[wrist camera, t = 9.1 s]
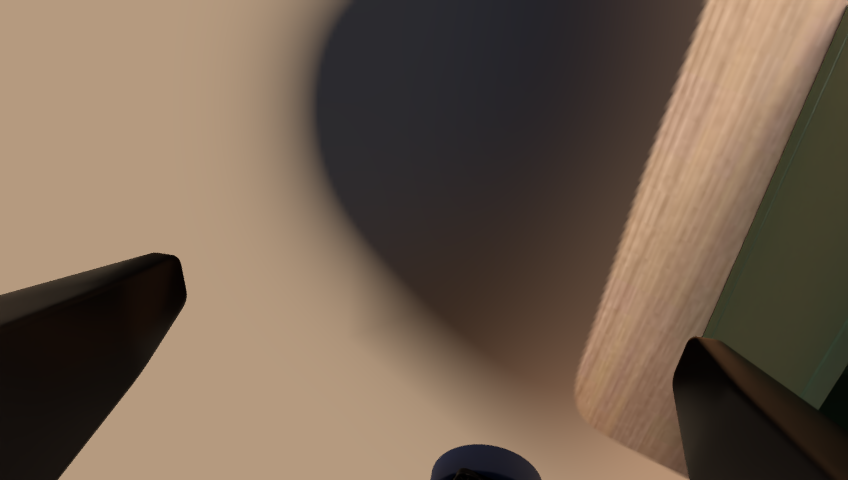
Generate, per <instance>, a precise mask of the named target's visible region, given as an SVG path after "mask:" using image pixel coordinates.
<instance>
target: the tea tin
mask: <svg viewBox="0 0 848 480" xmlns="http://www.w3.org/2000/svg"><path fill="white" fill-rule="evenodd" d="M703 338H710V339H717V340H720V341H722V342H723V343H725V344H726V345H728V346H729V347H730V348H732V349H733V350H735V351H736V352H737V353H739V354H740V355H742V356H743V357H744V358H746V359H747V360H749V361H750V362H751V363H753V364H754V365H756V366H757V367H758V368H760V369H761V370H763V371H764V372H766V373H767V374H768V375H770V376H771V377H773V378H774V379H775V380H777V381H778V382H780V383H781V384H782V385H784V386H785V387H787V388H788V389H789V390H791V391H792V392H794V393H795V394H796V395H798V396H799V397H801V398H802V399H803V400H805V401H806V402H808V403H809V404H810V405H812V406H813V407H815V408H816V409H817V410H819V411H820V412H822V413H823V414H824V415H826V416H827V417H829V418H830V419H831V420H833V421H834V422H836V423H837V424H838V425H840V426H841V427H843V428H844V429H846V430H847V431H848V7H847V9H846V11H845V13H844V16H843V18H842V20H841V23H840V25H839V27H838V29H837V32H836V34H835V36H834V39H833V41H832V43H831V45H830V48H829V50H828V52H827V55H826V57H825V59H824V61H823V64H822V66H821V68H820V70H819V73H818V75H817V77H816V80H815V82H814V84H813V86H812V89H811V91H810V93H809V96H808V98H807V100H806V102H805V105H804V107H803V109H802V112H801V114H800V116H799V118H798V121H797V123H796V125H795V128H794V130H793V132H792V134H791V137H790V139H789V141H788V143H787V146H786V148H785V150H784V153H783V155H782V157H781V159H780V162H779V164H778V166H777V169H776V171H775V173H774V175H773V178H772V180H771V182H770V185H769V187H768V189H767V191H766V194H765V196H764V198H763V201H762V203H761V205H760V207H759V210H758V212H757V214H756V216H755V219H754V221H753V223H752V226H751V228H750V230H749V232H748V235H747V237H746V239H745V242H744V244H743V246H742V248H741V251H740V253H739V255H738V258H737V260H736V262H735V264H734V267H733V269H732V271H731V274H730V276H729V278H728V280H727V283H726V285H725V287H724V289H723V292H722V294H721V296H720V299H719V301H718V303H717V305H716V308H715V310H714V312H713V315H712V317H711V319H710V321H709V324H708V326H707V328H706V331H705V333H704V335H703Z"/></svg>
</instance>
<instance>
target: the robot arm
mask: <svg viewBox="0 0 848 480" xmlns="http://www.w3.org/2000/svg"><path fill="white" fill-rule="evenodd" d="M186 298H187V293H186V286H185V281H184V276H183V272H182V266H181V263H180V260H179V259H178V258H177V257H176V256H174V255H169V254H162V253H150V254H147V255H143V256H139V257H136V258H133V259H129V260H125V261H122V262H118V263H114V264H111V265H107V266H104V267H100V268H96V269H93V270H89V271H86V272H82V273H78V274H75V275H71V276H67V277H64V278H61V279H57V280H53V281H49V282H46V283H43V284H39V285H35V286H32V287H28V288H25V289H21V290H17V291H14V292H10V293H6V294H3V295H0V480H58V479H59V477H60V476H61V475H62V474H63V472H64V471H65V470H66V469H67V467H68V466H69V465H70V464H71V462H72V461H73V460H74V458H75V457H76V456H77V455H78V453H79V452H80V451H81V449H82V448H83V447H84V446H85V444H86V443H87V442H88V441H89V439H90V438H91V437H92V435H93V434H94V433H95V432H96V430H97V429H98V428H99V427H100V425H101V424H102V423H103V421H104V420H105V419H106V418H107V416H108V415H109V414H110V412H111V411H112V410H113V409H114V407H115V406H116V405H117V404H118V402H119V401H120V400H121V398H122V397H123V396H124V395H125V393H126V392H127V391H128V389H129V388H130V387H131V386H132V384H133V383H134V382H135V380H136V379H137V378H138V376H139V375H140V373H141V372H142V370H143V369H144V367H145V366H146V365H147V363H148V362H149V360H150V358H151V357H152V356H153V354H154V352H155V351H156V349H157V348H158V346H159V344H160V343H161V341H162V340H163V338H164V336H165V335H166V333H167V332H168V330H169V329H170V327H171V326H172V324H173V322H174V321H175V319H176V318H177V316H178V315H179V313H180V311H181V310H182V308H183V306H184V304H185V302H186ZM673 393H674V398H675V404H676V409H677V415H678V421H679V426H680V432H681V437H682V443H683V449H684V454H685V460H686V465H687V470H688V474H689V479H690V480H848V431H847V430H846V429H844V428H843V427H841V426H840V425H838V424H837V423H836V422H834V421H833V420H831V419H830V418H829V417H827V416H826V415H824V414H823V413H822V412H820V411H819V410H817V409H816V408H815V407H813V406H812V405H810V404H809V403H808V402H806V401H805V400H803V399H802V398H801V397H799V396H798V395H796V394H795V393H794V392H792V391H791V390H789V389H788V388H787V387H785V386H784V385H782V384H781V383H780V382H778V381H777V380H775V379H774V378H773V377H771V376H770V375H768V374H767V373H766V372H764V371H763V370H761V369H760V368H758V367H757V366H756V365H754V364H753V363H751V362H750V361H749V360H747V359H746V358H744V357H743V356H742V355H740V354H739V353H737V352H736V351H735V350H733V349H732V348H730V347H729V346H728V345H726V344H725V343H723V342H722V341H720V340H717V339H710V338H703V337H697V336H695V337H692V338H690V339H689V341H688V342H687V344H686V346H685V349H684V351H683V353H682V356H681V358H680V360H679V363H678V365H677V368H676V370H675V372H674V376H673ZM451 480H493V479H491V478H488V477H486V476H484V475H481V474H479V473H477V472H475V471H472V470H470V469H467V468H460V469H459V470H458V471H457V472H456V474H455V475H454V476H453V478H452V479H451Z"/></svg>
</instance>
